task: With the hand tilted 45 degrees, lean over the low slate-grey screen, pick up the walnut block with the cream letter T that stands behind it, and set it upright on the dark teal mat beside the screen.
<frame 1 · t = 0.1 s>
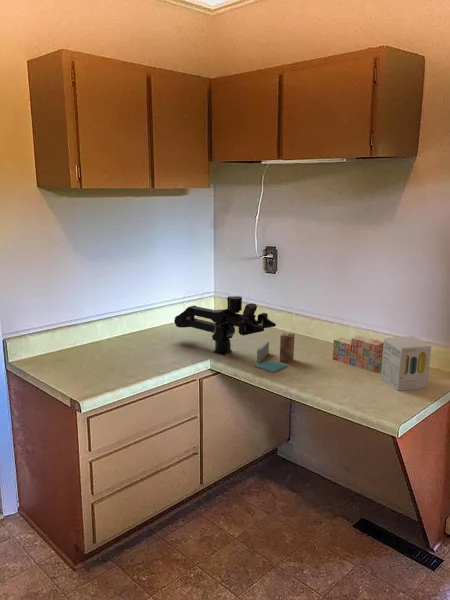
hand: (269, 327, 232), 17 cm above the table, tool horizontal, fingers open, 9 cm apart
supplement box: (403, 384, 216), on the table
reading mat: (271, 366, 232), on the table
screen: (262, 357, 244), on the table
letter block: (286, 360, 240), on the table
stack of blocks: (356, 364, 237), on the table
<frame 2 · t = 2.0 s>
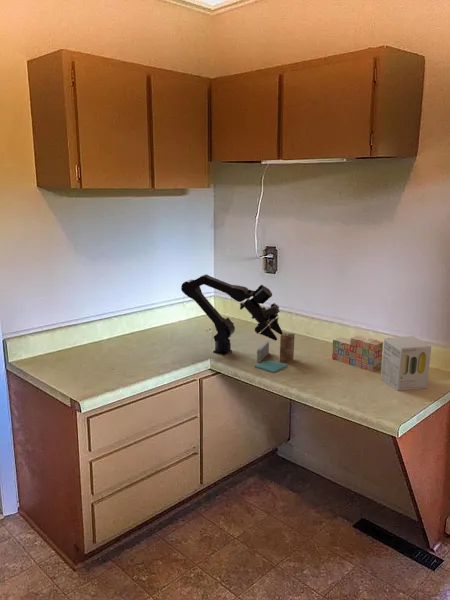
hand: (279, 337, 239), 10 cm above the table, tool tilted 45°, fingers open, 9 cm apart
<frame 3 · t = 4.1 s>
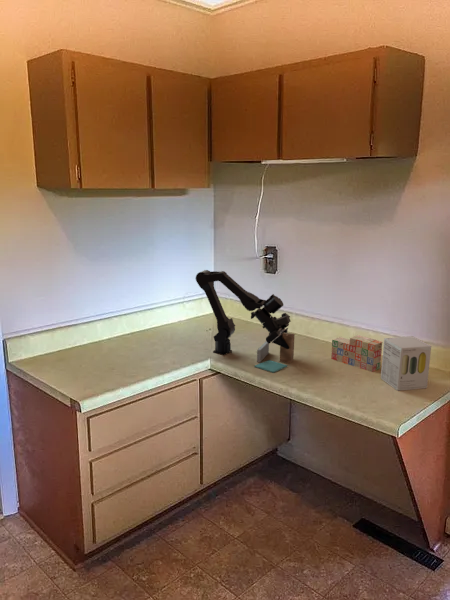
hand: (290, 346, 238), 7 cm above the table, tool tilted 45°, fingers closed on letter block, 5 cm apart
letter block: (286, 360, 240), on the table, touching gripper
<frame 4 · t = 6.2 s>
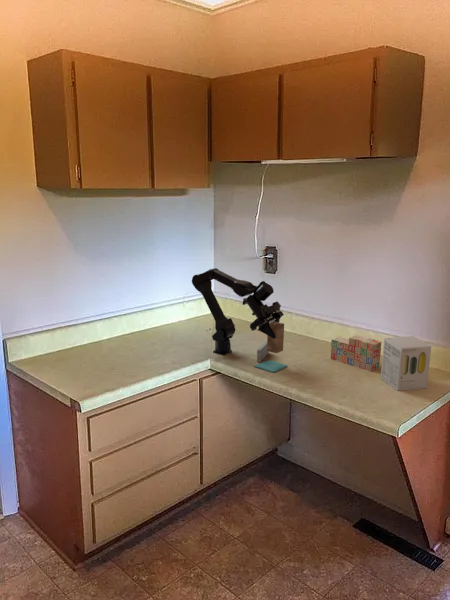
hand: (278, 336, 230), 13 cm above the table, tool tilted 45°, fingers closed on letter block, 5 cm apart
letter block: (274, 350, 232), point 7 cm above the table, touching gripper
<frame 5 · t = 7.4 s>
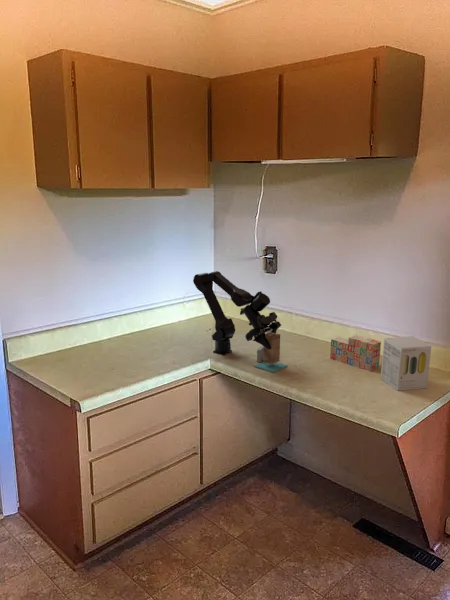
hand: (274, 347, 229), 9 cm above the table, tool tilted 45°, fingers closed on letter block, 5 cm apart
letter block: (271, 361, 232), point 2 cm above the table, touching gripper
when the fingers open (8 cm above the table, at t = 8.3 s): letter block drops 1 cm, resting on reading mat.
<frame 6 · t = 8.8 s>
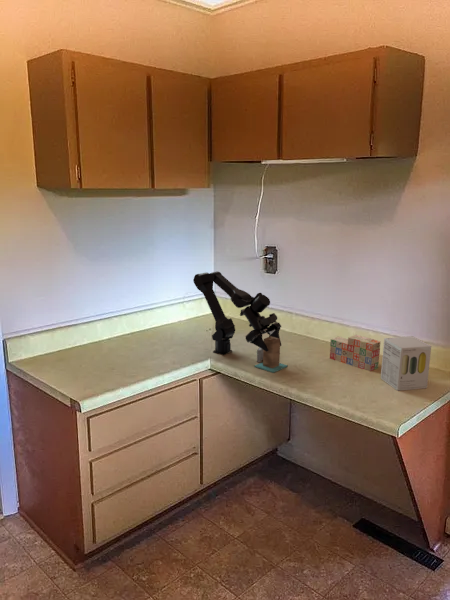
hand: (274, 348, 230), 9 cm above the table, tool tilted 45°, fingers open, 9 cm apart
letter block: (271, 365, 232), point 1 cm above the table, touching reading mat
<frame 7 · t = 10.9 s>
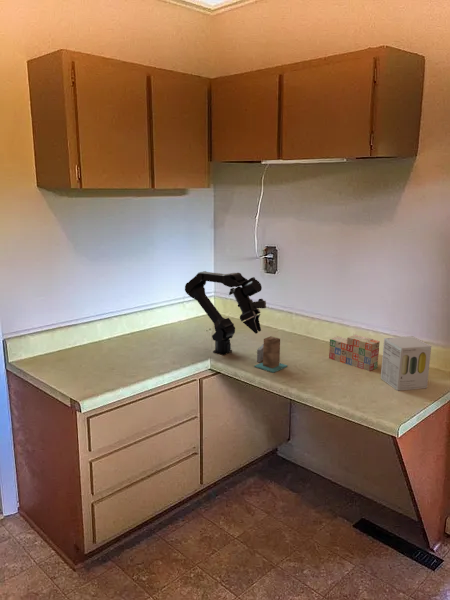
hand: (258, 332, 237), 13 cm above the table, tool tilted 30°, fingers open, 9 cm apart
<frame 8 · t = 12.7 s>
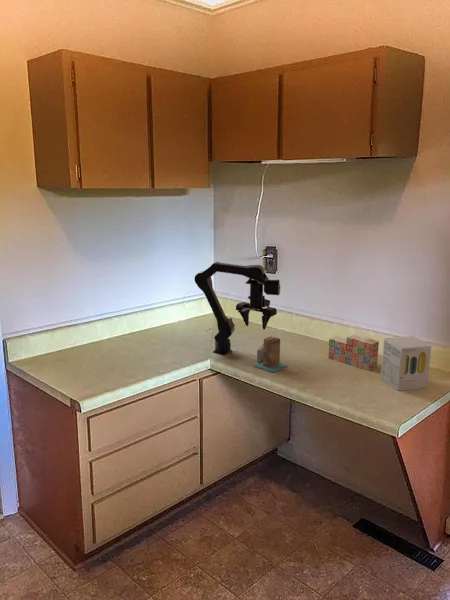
hand: (255, 327, 244), 13 cm above the table, tool pointing down, fingers open, 9 cm apart
at the end: letter block inside the target area on the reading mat (0.0 cm from its centre), point 0.6 cm above the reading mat's base; letter block tilted 0°; the gripper is holding nothing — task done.
